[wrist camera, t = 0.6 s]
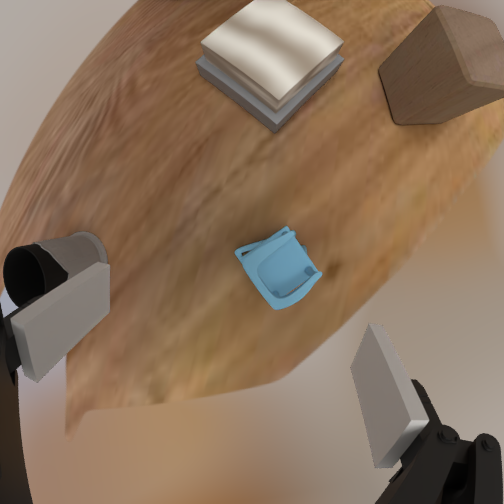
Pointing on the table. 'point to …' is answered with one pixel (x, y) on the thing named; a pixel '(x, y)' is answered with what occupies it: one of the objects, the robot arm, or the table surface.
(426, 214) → the table surface
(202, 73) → the tower base
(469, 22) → the block
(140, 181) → the table surface
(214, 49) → the tower top
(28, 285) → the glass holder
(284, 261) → the chair
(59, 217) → the table surface
